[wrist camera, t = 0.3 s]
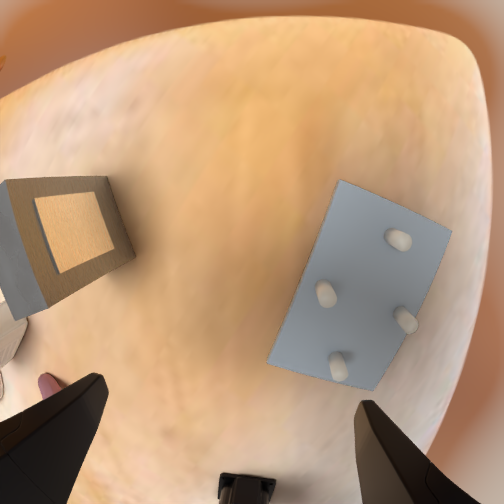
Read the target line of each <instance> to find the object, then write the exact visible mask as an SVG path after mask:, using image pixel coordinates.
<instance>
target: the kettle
mask: <svg viewBox="0 0 504 504" xmlns="http://www.w3.org/2000/svg"><path fill="white" fill-rule="evenodd" d="M2 396H3V383H2V377H1V373H0V399H1V397H2Z"/></svg>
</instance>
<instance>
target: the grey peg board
mask: <svg viewBox="0 0 504 504" xmlns="http://www.w3.org/2000/svg"><path fill="white" fill-rule="evenodd" d="M451 233H452V231H451V230H449V229H447V228H445V227H443V226H441V225H439V224H438V223H436V222H434V221H432V220H430V219H428V218H425V217H423V216H421V215H419V214H417V213H415V212H413V211H411V210H409V209H407V208H405V207H402V206H400V205H398V204H396V203H394V202H392V201H389V200H387V199H385V198H383V197H380V196H378V195H376V194H374V193H371V192H369V191H367V190H364V189H362V188H360V187H357V186H355V185H352V184H350V183H347V182H345V181H342V180H338V181H337V183H336V186H335V189H334V192H333V195H332V197H331V200H330V203H329V206H328V209H327V211H326V214H325V217H324V219H323V222H322V225H321V227H320V230H319V233H318V235H317V238H316V241H315V243H314V246H313V249H312V251H311V254H310V256H309V259H308V261H307V264H306V266H305V269H304V272H303V274H302V277H301V279H300V281H299V284H298V286H297V289H296V291H295V294H294V296H293V299H292V301H291V303H290V306H289V308H288V311H287V313H286V315H285V318H284V320H283V323H282V325H281V327H280V330H279V332H278V334H277V336H276V339H275V341H274V343H273V346H272V348H271V350H270V352H269V355H268V357H267V364H270V365H274V366H277V367H280V368H284V369H287V370H290V371H294V372H298V373H301V374H305V375H308V376H312V377H316V378H320V379H324V380H327V381H331V382H335V383H340V384H344V385H348V386H352V387H357V388H361V389H366V390H370V391H374V389H375V387H376V386H377V384H378V383H379V381H380V380H381V378H382V376H383V375H384V373H385V371H386V370H387V368H388V366H389V365H390V363H391V361H392V360H393V358H394V356H395V354H396V353H397V351H398V349H399V347H400V346H401V344H402V342H403V340H404V338H405V336H406V335H407V334H412V333H414V332H415V331H416V330H417V329H418V326H419V324H418V321H417V320H416V319H415V317H416V315H417V313H418V311H419V309H420V307H421V305H422V303H423V301H424V299H425V297H426V294H427V292H428V290H429V288H430V286H431V283H432V281H433V279H434V276H435V274H436V272H437V269H438V267H439V265H440V262H441V260H442V257H443V255H444V252H445V249H446V247H447V244H448V242H449V239H450V236H451Z"/></svg>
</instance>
